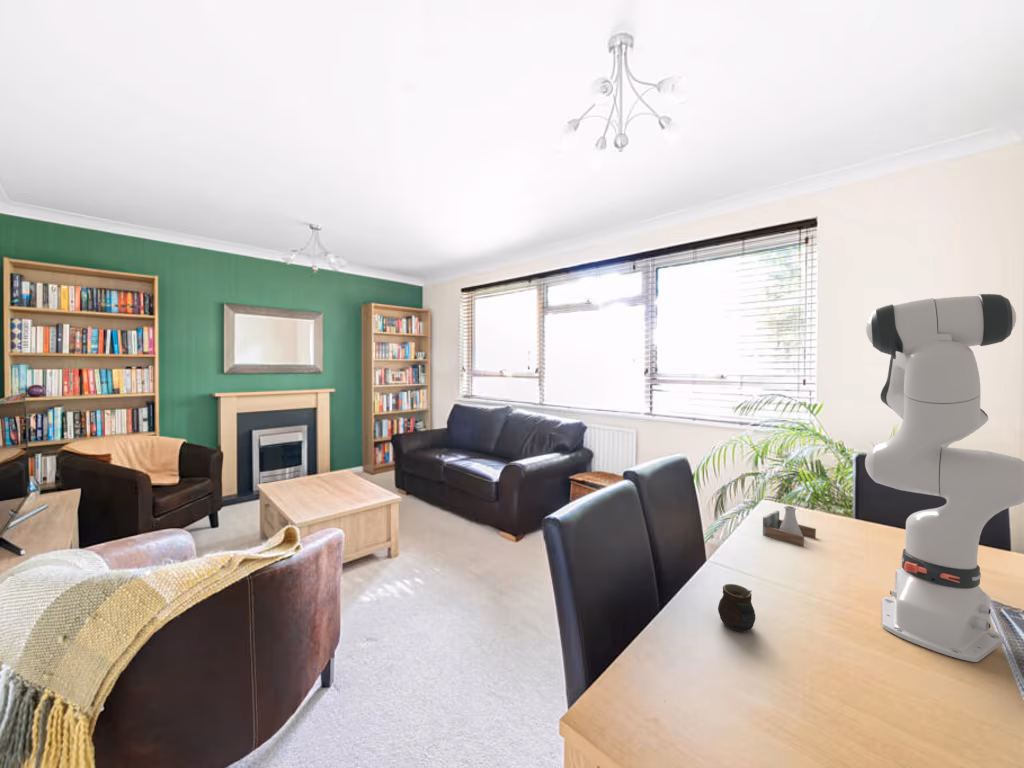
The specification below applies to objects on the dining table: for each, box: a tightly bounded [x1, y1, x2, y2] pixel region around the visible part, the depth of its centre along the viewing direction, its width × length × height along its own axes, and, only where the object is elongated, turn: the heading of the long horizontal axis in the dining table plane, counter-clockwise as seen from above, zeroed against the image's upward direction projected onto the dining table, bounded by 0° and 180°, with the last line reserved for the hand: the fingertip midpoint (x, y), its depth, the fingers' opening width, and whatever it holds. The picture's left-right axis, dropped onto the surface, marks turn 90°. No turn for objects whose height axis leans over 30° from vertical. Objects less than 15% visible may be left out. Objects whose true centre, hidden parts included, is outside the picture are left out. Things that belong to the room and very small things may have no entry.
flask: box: [778, 505, 804, 536], centre depth 139 cm, size 7×7×10 cm
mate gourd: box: [717, 583, 756, 633], centre depth 89 cm, size 7×8×10 cm
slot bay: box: [762, 510, 817, 547], centre depth 139 cm, size 12×12×6 cm
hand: (873, 470), depth 126 cm, fingers closed
